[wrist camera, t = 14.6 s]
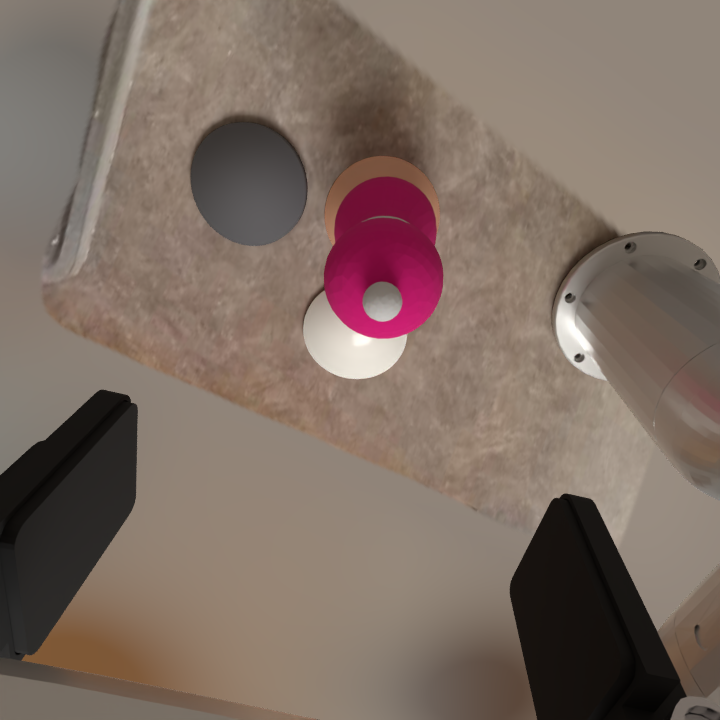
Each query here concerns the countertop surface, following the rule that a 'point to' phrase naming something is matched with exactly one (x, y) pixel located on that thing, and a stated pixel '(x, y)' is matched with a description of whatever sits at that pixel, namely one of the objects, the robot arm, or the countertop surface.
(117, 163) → the countertop surface
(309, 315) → the cream oval dome
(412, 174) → the peach oval dome
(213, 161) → the dark gray oval dome
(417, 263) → the pepper mill
